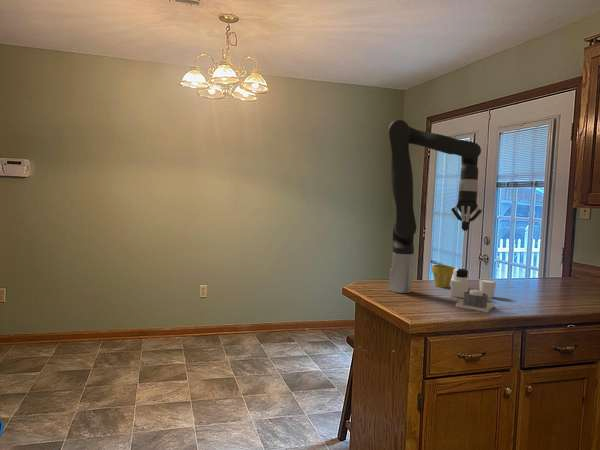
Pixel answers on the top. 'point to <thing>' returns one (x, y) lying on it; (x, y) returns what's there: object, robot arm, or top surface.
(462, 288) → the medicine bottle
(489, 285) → the white cylinder
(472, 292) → the cap
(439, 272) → the plant pot
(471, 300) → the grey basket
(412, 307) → the top surface
